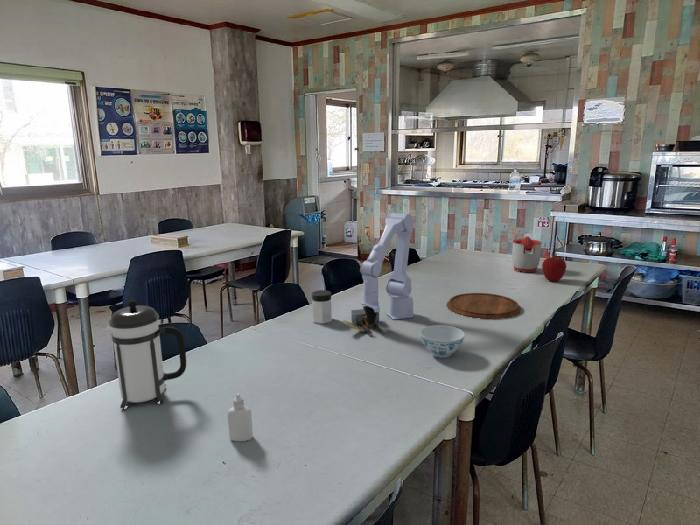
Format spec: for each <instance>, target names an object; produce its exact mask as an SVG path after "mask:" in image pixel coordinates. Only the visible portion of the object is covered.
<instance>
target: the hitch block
mask: <svg viewBox="0 0 700 525" xmlns="http://www.w3.org/2000/svg"><path fill="white" fill-rule="evenodd" d="M350 311H351V323H353V324H355V325H357V326H359V327H363V328H364V329H365V330H366V335H368V337H369V338H370V337H371V338H372V337H374V336H373V334H374V333H373V331H371V329H369V328H367V327H366V326H365V325H364V324H363V316H365V315H366V313H365V311H364V309H363V308H362V309H352V310H350ZM373 327H375V328H376V329H377V330H378V331H379V332H380V333H381V335H383V336H385V335H386V336H387V330H386V329H385V328H384V327H383V326H381V325H380V312H378V313H377V315H376V318H375V323H374V324H373Z"/></svg>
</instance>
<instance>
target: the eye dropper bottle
mask: <svg viewBox="0 0 700 525" xmlns="http://www.w3.org/2000/svg"><path fill="white" fill-rule="evenodd" d="M244 400H245V399H244V397H241V395H240V393H236V396H235V398H233V406H232V407H231V408H229V410H228V411H227V423H228V425H227V426H228V436H229V438H228V439H229V440H230V441H233V440H234V441H233V442H248V441H251V440H252V438H253V436H254V434H253V420H252V410H251V409H250V408H249V407H247V406H245V402H244ZM247 440H248V441H247Z"/></svg>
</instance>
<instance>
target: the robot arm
mask: <svg viewBox="0 0 700 525" xmlns="http://www.w3.org/2000/svg"><path fill="white" fill-rule="evenodd" d="M414 221H415V219H414V217H413V216H412V215H411V213H398V212H393V211H392V212H391V211H390V212H388V213H387V215H386V217H385V221H384V224H385V228H384V230H383V232H382V234H381V237H380V240H379V242H378V244H377V243H376V244H374V246H373V248H372V249H371V251H370V254H369V255H368V257H367V260H365V261H363V262H362V263H361V265H360V269H359V272H360V273H361V278H362V280H363V296H362V301H361V302H360V305H361V306H362V309H364V311H365V313H366V316H367V321H368V324H369V325H372V324H374V323H375V318H376V315H377V313H378V312H379V313H380V312H381V307H380V302H379V276H380V275H381V273H382V268H383V262H384V260H385V258H386V256H387V254H388V248H387V247H388V246H389V245H390V243H391V241H392V239H393V238H394V236H395V235H397V242H396V249H395V250H396V251H395V258H394V264H393V265H394V266H393V267H394V268H393V273H391V274H390V275H388V276H387V277H388V278H387V281H386V285H385V291H386V293H387V294H388V296H389V312H386V315H387V316H388V317H389V318H391V319H392V320H402V319H409V318H414V299H413V296H412V295H411V293H412V288H413V287H412V279H411V278H410V276H409V275H408V274H407V269H408V263H409V262H408V260H409V254H410V253H409V252H410V245H411V243H410V242H411V238H412V236H411V235H412V234H413V231H414V230H413V229H414V223H415V222H414Z"/></svg>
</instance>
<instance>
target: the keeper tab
mask: <svg viewBox="0 0 700 525" xmlns="http://www.w3.org/2000/svg"><path fill="white" fill-rule="evenodd" d="M342 322H343V324H345V325H346V326H348V327H350V328H353V329H356V330H358V331H359V332H362V333H363V334H365V333H366V330H365V329H364V328H363V327H360V326H357V325H355V324H353V323H352V322H350V321H348V320H345V319H343V320H342ZM366 334H367V333H366Z"/></svg>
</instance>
